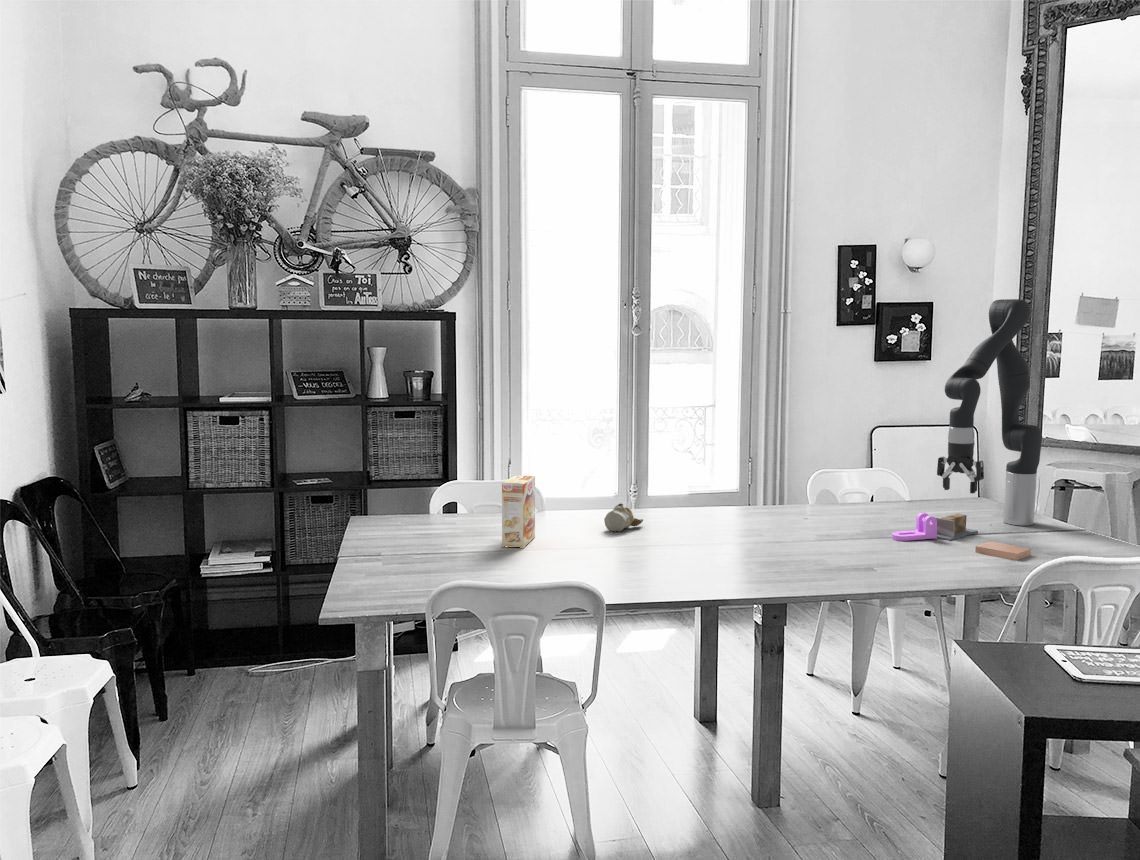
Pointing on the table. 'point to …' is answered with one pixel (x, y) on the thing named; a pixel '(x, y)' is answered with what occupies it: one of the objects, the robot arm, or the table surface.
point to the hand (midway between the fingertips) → (959, 491)
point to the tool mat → (957, 534)
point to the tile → (1003, 550)
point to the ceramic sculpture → (620, 519)
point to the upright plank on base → (951, 524)
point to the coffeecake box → (518, 511)
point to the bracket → (919, 529)
